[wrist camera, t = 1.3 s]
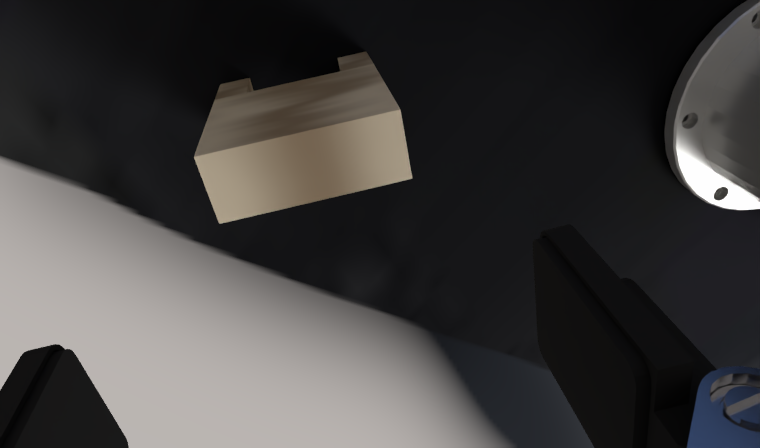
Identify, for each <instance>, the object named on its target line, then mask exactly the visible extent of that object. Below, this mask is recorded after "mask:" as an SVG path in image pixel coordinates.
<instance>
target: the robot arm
mask: <svg viewBox="0 0 760 448" xmlns="http://www.w3.org/2000/svg"><path fill="white" fill-rule="evenodd" d="M664 136H665V148H666V154H667V157H668V160H669V163H670V166H671V169H672V171H673V172H674V174H675V175H676V177H677V179H678V180H679V182H680V183H681V184H682V185H683V186H684V187H686V188H687V189H688V190H689V191H690V192H691V193H692V194H694V195H696V196H697V197H699V198H700V199H702V200H703V201H705V202H706V203H708V204H711V205H714V206H717V207H719V208H722V209H730V210H738V211H742V210H755V209H760V0H747V1H745V2H744V3H742V4H741V5H739V6H738V7H736V8H735V9H734V10H733V11H732V12H731V13H729V14H728V15H727V16H726V17H725V18H724V19H722V20H721V21H720V22H719V23H718V24H717V25H716V26H715V27H714V28H713V29H712V30H711V31H710V33H709V34H708V35H707V36H706V37H705V38H704V39H703V41H702V42H701V43H700V44H699V45H698V47H697V48H696V50H695V51H694V53H693V54H692V56H691V57H690V59H689V60H688V62H687V63H686V65H685V66H684V68H683V70H682V72H681V74H680V77H679V79H678V81H677V83H676V85H675V87H674V89H673V92H672V96H671V99H670V102H669V106H668V109H667V113H666V122H665V131H664ZM533 262H534V280H535V299H536V318H537V336H538V344H539V348H540V351H541V354H542V356H543V358H544V360H545V362H546V363H547V365H548V367H549V369H550V370H551V372H552V374H553V376H554V377H555V379H556V381H557V383H558V384H559V386H560V388H561V390H562V391H563V393H564V395H565V397H566V398H567V400H568V402H569V404H570V405H571V407H572V409H573V411H574V412H575V414H576V416H577V418H578V419H579V421H580V423H581V425H582V426H583V428H584V430H585V432H586V433H587V435H588V437H589V439H590V440H591V442H592V444H593V446H594V448H760V369H757V368H751V367H743V366H733V367H723V368H720V369H716V368H715V367H714V366H713V365H712V364H711V363H710V362H709V361H708V360H707V359H706V358H705V356H704V355H703V354H702V353H701V352H700V351H699V350H698V349H697V348H696V347H695V346H694V345H693V344H692V343H691V341H690V340H689V339H688V338H687V337H686V336H685V335H684V334H683V333H682V332H681V331H680V330H679V329H678V328H677V326H676V325H675V324H674V323H673V322H672V321H671V320H670V319H669V318H668V317H667V316H666V315H665V314H664V313H663V311H662V310H661V309H660V308H659V307H658V306H657V305H656V304H655V303H654V302H653V301H652V300H651V299H650V298H649V297H648V295H647V294H646V293H645V292H644V291H643V290H642V289H641V288H640V287H639V286H638V285H637V284H636V283H635V282H634V281H633V280H631V279H628V278H623V279H620V278H619V277H618V276H617V275H616V274H615V272H614V271H613V270H612V269H611V268H610V267H609V266H608V265H607V264H606V263H605V261H604V260H603V259H602V258H601V257H600V256H599V255H598V254H597V253H596V251H595V250H594V249H593V248H592V247H591V246H590V245H589V244H588V243H587V241H586V240H585V239H584V238H583V237H582V236H581V235H580V234H579V233H578V231H577V230H576V229H575V228H574V227H573V226H571V225H565V226H561V227H556V228H552V229H548V230H543V231H542V232H541V235H540V239H536V240H534V241H533ZM0 448H128V442H127V439H126V437H125V436H124V434H123V432H122V431H121V429H120V428H119V426H118V424H117V422H116V421H115V419H114V417H113V416H112V414H111V413H110V411H109V409H108V408H107V406H106V404H105V403H104V401H103V399H102V398H101V396H100V394H99V393H98V391H97V390H96V388H95V386H94V385H93V383H92V381H91V380H90V378H89V377H88V375H87V373H86V371H85V370H84V368H83V366H82V365H81V363H80V362H79V360H78V358H77V357H76V355H75V354H74V352H73V351H72V350H70V349H66V350H65V349H64V348H63V347H62V346H60V345H56V344H55V345H50V346H46V347H42V348H38V349H33V350H30V351H26V352H24V353H23V354H22V356H21V357H20V359H19V360H18V362H17V364H16V365H15V367H14V369H13V370H12V372H11V374H10V375H9V377H8V379H7V380H6V382H5V384H4V385H3V387H2V389H1V390H0Z"/></svg>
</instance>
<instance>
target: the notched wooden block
mask: <svg viewBox="0 0 760 448" xmlns="http://www.w3.org/2000/svg"><path fill="white" fill-rule="evenodd" d="M337 59H338V64H339V68H340V72H336V73H331V74H327V75H322V76H318V77H313V78H309V79H305V80H300V81H296V82H291V83H287V84H283V85H278V86H274V87H269V88H265V89H261V90H256V91H254V90H253V87H252V84H251V81H250V78H246V79H242V80H238V81H233V82H229V83H224V84H220V86H219V89H218V92H217V95H216V97H215V100H214V103H213V106H212V108H211V111H210V114H209V117H208V119H207V122H206V125H205V128H204V130H203V133H202V136H201V139H200V141H199V144H198V147H197V150H196V152H195V155H194V159H195V161H196V164H197V166H198V169H199V172H200V174H201V177H202V180H203V182H204V185H205V187H206V190H207V193H208V195H209V198H210V201H211V203H212V206H213V208H214V211H215V214H216V216H217V219H218V222H219V224H221V223H225V222H230V221H234V220H238V219H242V218H247V217H251V216H255V215H259V214H264V213H268V212H272V211H276V210H281V209H285V208H289V207H293V206H298V205H302V204H306V203H310V202H315V201H319V200H323V199H327V198H332V197H336V196H340V195H344V194H349V193H353V192H357V191H362V190H366V189H370V188H374V187H379V186H383V185H387V184H391V183H396V182H400V181H404V180H408V179H412V174H411V168H410V162H409V157H408V151H407V145H406V139H405V133H404V128H403V122H402V116H401V110H400V108H399V106H398V105H397V103H396V101H395V100H394V98H393V96H392V94H391V93H390V91H389V89H388V88H387V86H386V84H385V83H384V81H383V79H382V77H381V76H380V74H379V72H378V71H377V69H376V67H375V66H374V64H373V62H372V60H371V59H370V57H369V55H368V54H367V52H362V53H357V54H353V55H348V56H344V57H340V58H337Z"/></svg>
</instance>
